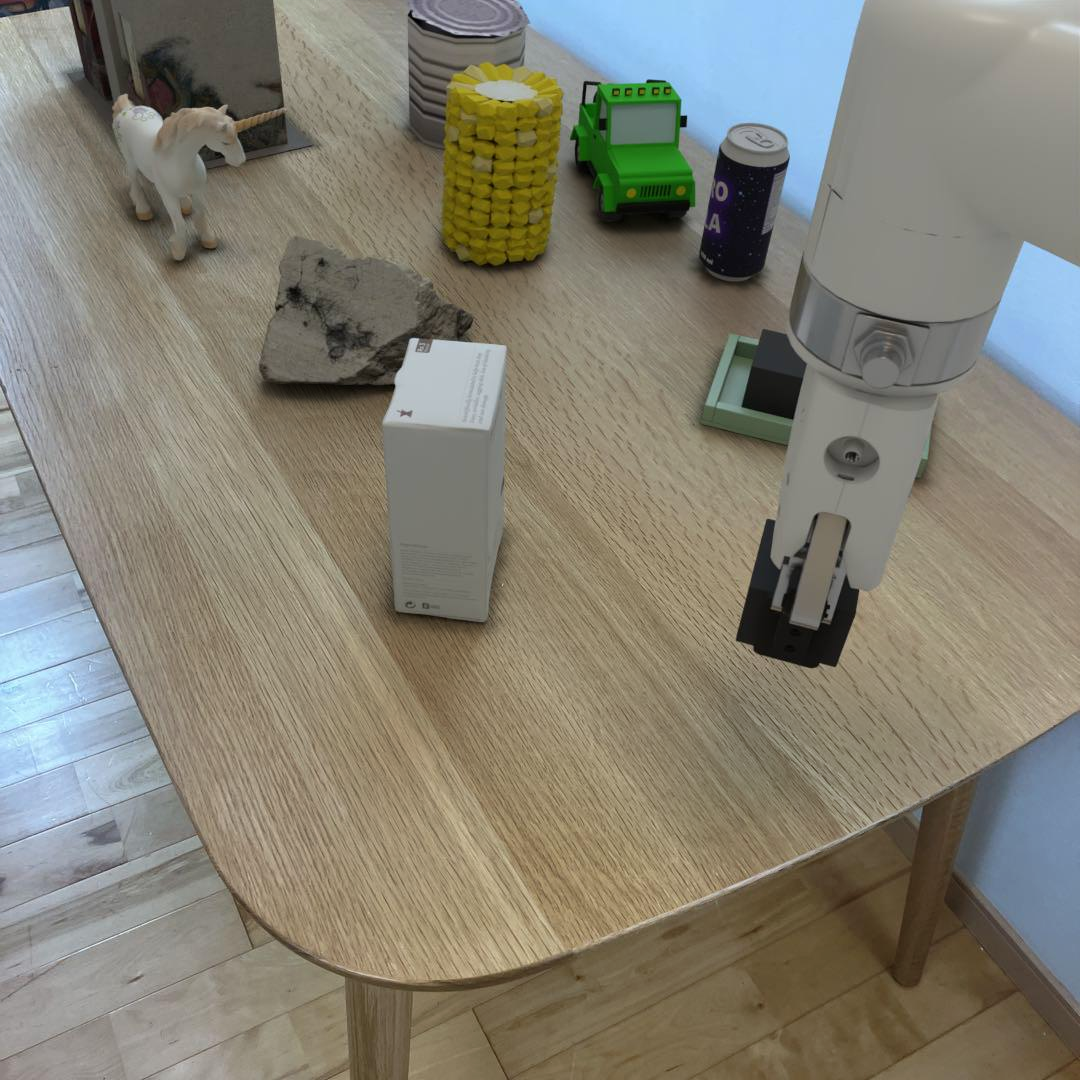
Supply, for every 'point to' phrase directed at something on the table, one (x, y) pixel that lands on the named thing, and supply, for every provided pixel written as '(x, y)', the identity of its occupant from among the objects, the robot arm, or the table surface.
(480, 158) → the food
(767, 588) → the black cube
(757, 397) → the black block
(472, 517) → the cosmetic box
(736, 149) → the beverage can
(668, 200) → the toy car
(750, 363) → the tray
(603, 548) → the table surface
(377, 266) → the stone
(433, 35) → the can
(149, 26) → the bookend
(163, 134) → the unicorn figurine
